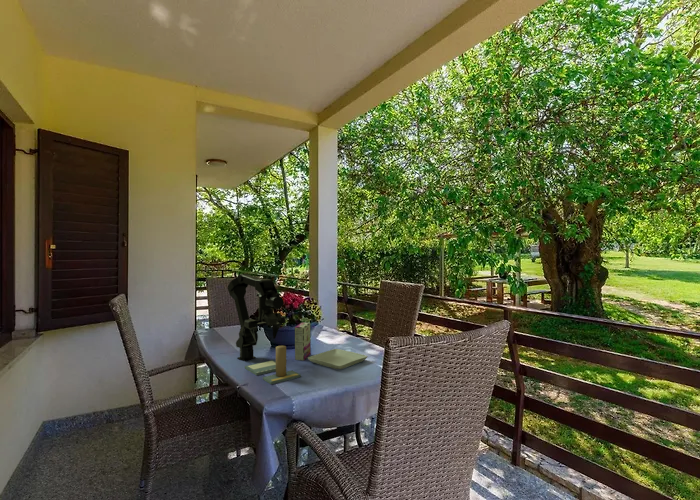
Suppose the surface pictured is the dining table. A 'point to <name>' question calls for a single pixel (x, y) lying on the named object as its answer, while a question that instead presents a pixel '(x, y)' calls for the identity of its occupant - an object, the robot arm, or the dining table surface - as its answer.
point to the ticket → (262, 367)
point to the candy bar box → (302, 341)
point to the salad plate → (337, 358)
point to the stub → (281, 368)
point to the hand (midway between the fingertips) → (265, 340)
